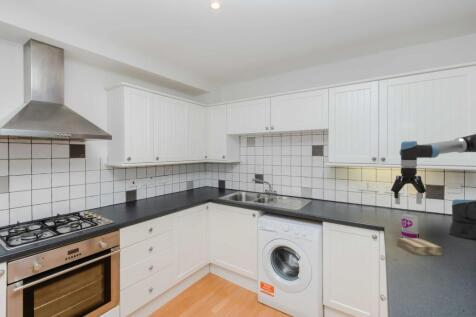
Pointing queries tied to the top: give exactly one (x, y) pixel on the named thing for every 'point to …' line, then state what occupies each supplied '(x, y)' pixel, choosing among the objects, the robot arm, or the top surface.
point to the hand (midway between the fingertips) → (408, 204)
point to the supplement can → (410, 226)
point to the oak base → (419, 246)
